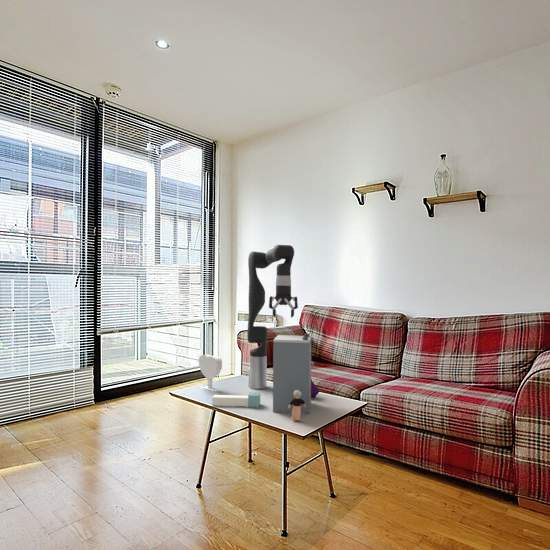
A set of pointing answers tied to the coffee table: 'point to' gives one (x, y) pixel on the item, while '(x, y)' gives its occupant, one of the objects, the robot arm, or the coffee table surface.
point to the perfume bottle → (313, 387)
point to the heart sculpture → (210, 368)
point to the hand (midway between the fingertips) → (283, 317)
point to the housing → (291, 371)
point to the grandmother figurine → (296, 406)
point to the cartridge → (237, 400)
